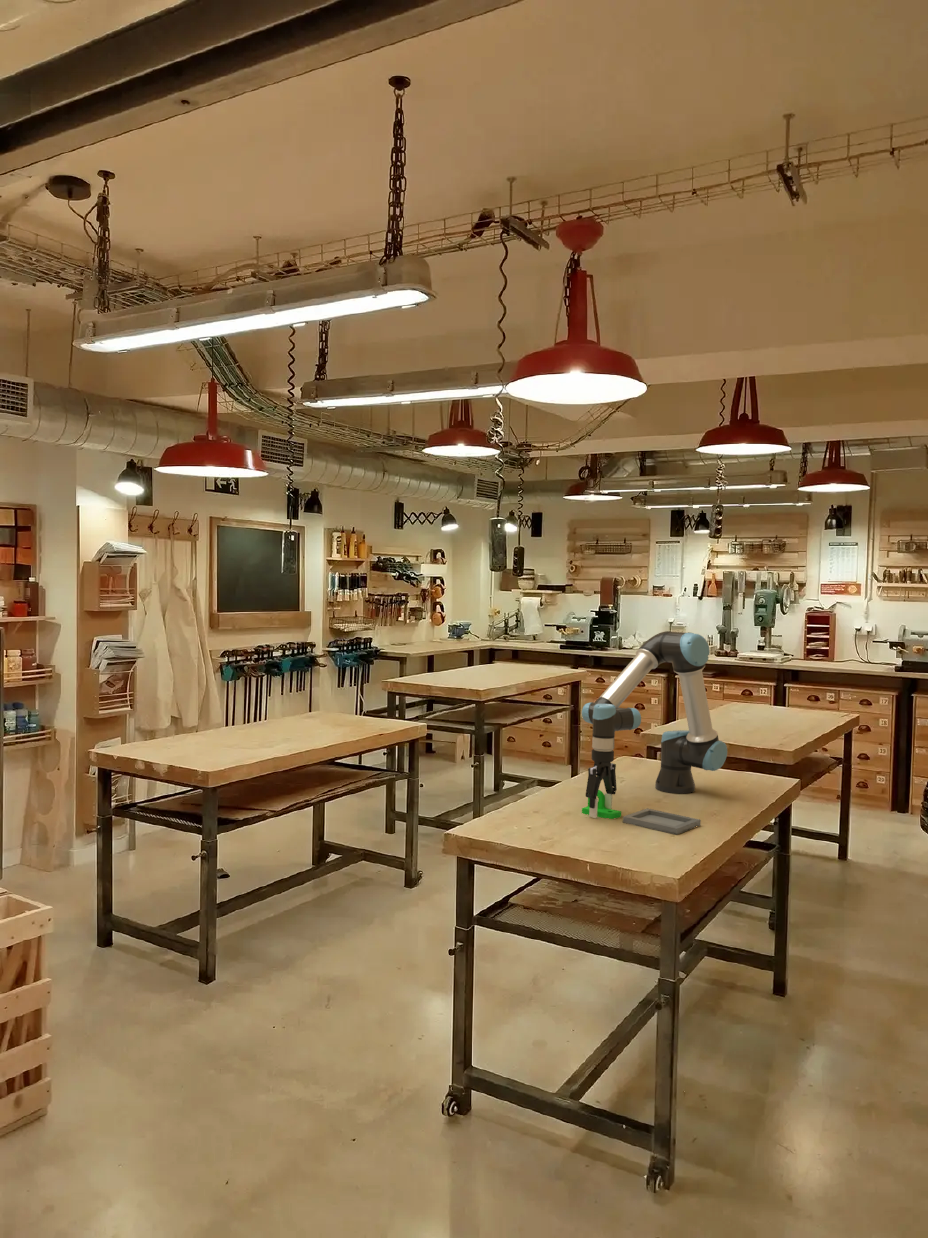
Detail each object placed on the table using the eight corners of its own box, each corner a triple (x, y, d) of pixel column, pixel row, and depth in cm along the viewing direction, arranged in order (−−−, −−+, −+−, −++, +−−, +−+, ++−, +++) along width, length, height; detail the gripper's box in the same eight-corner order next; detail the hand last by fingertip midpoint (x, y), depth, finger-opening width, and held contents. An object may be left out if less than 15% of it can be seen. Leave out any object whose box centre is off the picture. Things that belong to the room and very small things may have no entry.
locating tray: (647, 814, 304) (647, 808, 304) (700, 825, 291) (700, 819, 291) (622, 822, 292) (622, 816, 292) (676, 835, 279) (677, 828, 279)
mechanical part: (581, 814, 303) (582, 791, 302) (590, 810, 308) (591, 788, 307) (612, 820, 295) (613, 797, 295) (621, 817, 300) (621, 793, 300)
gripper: (610, 744, 310) (608, 807, 311) (576, 751, 294) (573, 818, 295) (628, 747, 305) (626, 811, 306) (594, 754, 289) (592, 822, 290)
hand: (600, 815), depth 301 cm, fingers open, 8 cm apart
